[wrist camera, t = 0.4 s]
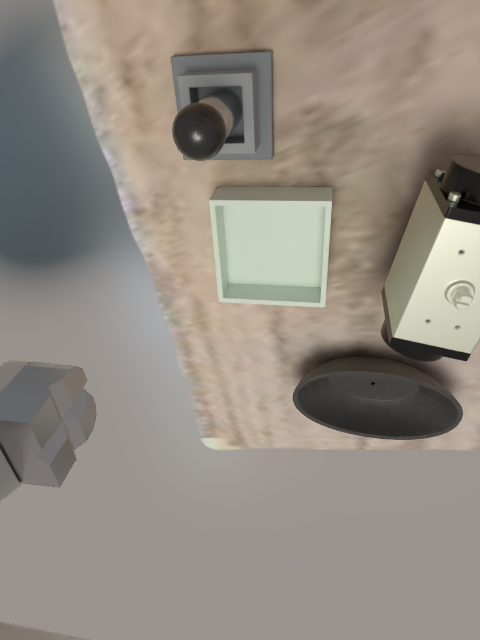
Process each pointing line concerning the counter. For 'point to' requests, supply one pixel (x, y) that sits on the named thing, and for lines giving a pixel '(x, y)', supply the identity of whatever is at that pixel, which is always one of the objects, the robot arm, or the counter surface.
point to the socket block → (246, 82)
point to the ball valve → (438, 269)
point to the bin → (271, 244)
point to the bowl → (377, 399)
